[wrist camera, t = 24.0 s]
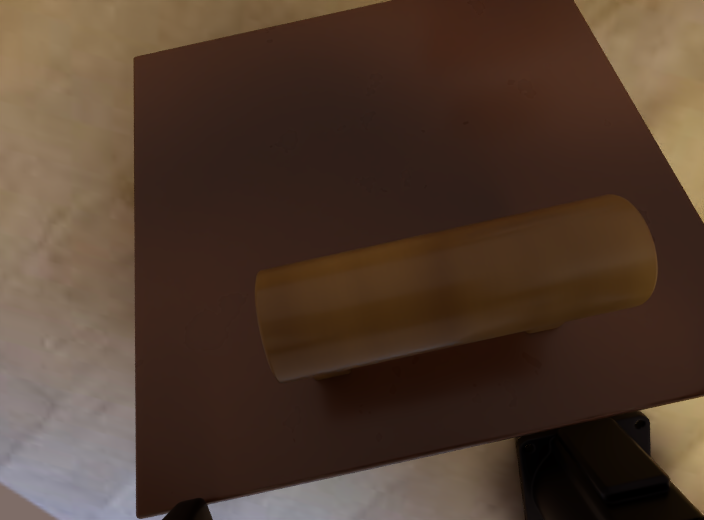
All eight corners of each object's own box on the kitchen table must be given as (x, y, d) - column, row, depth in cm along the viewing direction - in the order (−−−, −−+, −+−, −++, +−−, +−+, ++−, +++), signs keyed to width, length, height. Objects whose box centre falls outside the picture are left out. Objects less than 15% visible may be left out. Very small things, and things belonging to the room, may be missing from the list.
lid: (770, 381, 9) (1036, 317, 5) (150, 517, 9) (-26, 548, 5) (547, -16, 13) (602, -199, 10) (143, 72, 13) (47, -76, 10)
